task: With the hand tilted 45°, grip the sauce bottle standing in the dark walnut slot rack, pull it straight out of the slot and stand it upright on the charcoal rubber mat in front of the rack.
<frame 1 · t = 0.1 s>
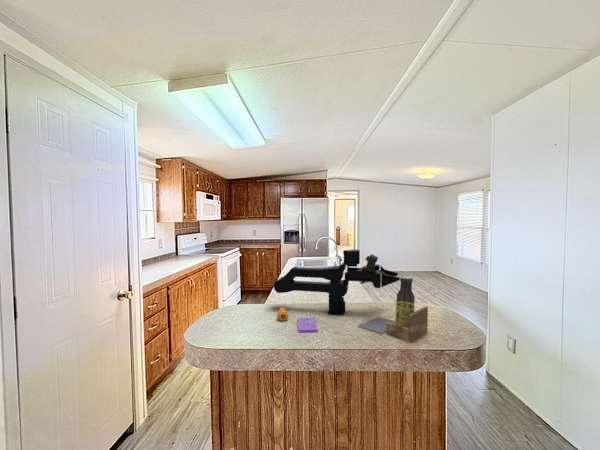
hand: (398, 276, 123), 17 cm above the counter, tool horizontal, fingers open, 9 cm apart
sauce bottle: (404, 333, 108), on the counter
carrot: (283, 314, 129), on the counter
sponges: (307, 328, 115), on the counter
bottle rack: (404, 332, 108), on the counter
charcoal mat: (379, 325, 115), on the counter
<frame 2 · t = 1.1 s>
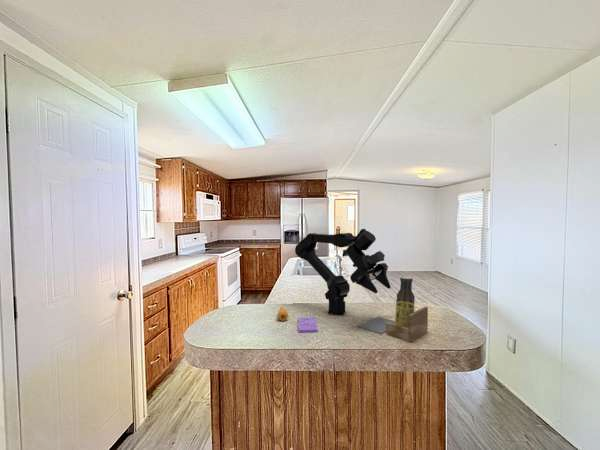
hand: (383, 290, 113), 14 cm above the counter, tool tilted 45°, fingers open, 9 cm apart
nothing on the counter moved.
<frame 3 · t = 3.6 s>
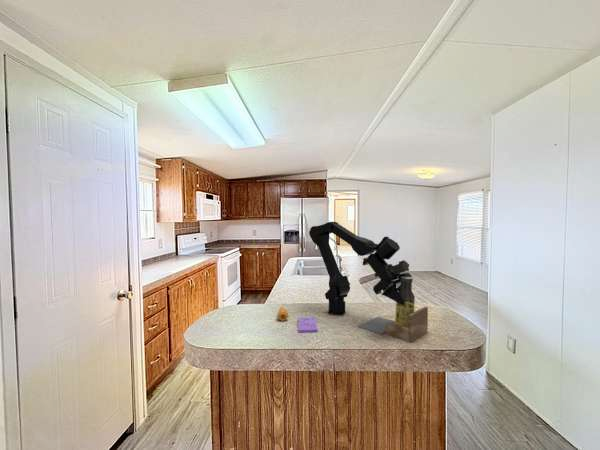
hand: (408, 302, 106), 11 cm above the counter, tool tilted 45°, fingers closed on sauce bottle, 6 cm apart
sauce bottle: (404, 333, 108), on the counter, touching gripper
everything else where it was.
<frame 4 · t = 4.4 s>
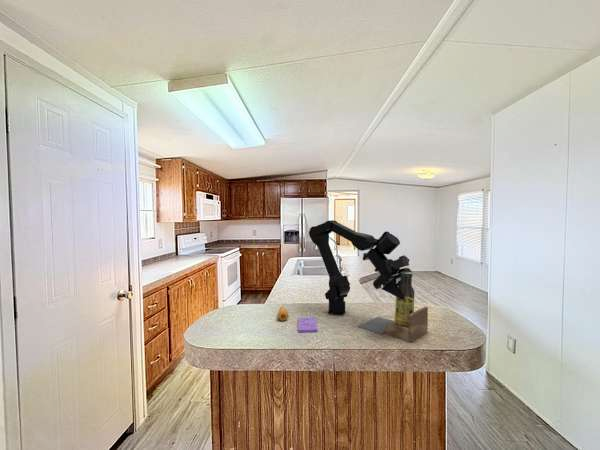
hand: (408, 297, 106), 13 cm above the counter, tool tilted 45°, fingers closed on sauce bottle, 6 cm apart
sauce bottle: (404, 328, 108), point 2 cm above the counter, touching gripper
everything else where it was.
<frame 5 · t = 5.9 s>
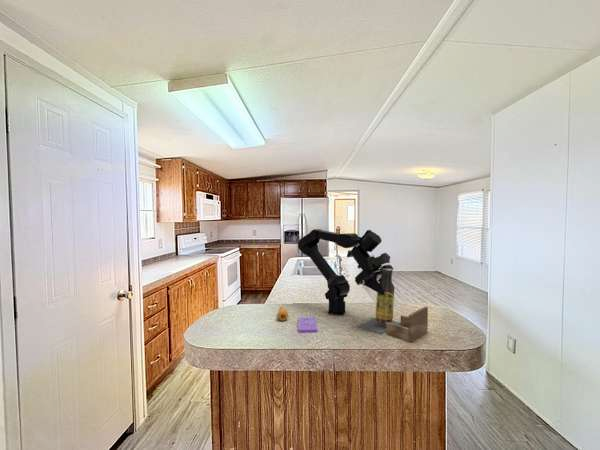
hand: (388, 292, 112), 13 cm above the counter, tool tilted 45°, fingers closed on sauce bottle, 6 cm apart
sauce bottle: (384, 322, 113), point 2 cm above the counter, touching gripper
everything else where it was.
when the fingers open (12 cm above the counter, at t = 7.3 s): sauce bottle stays where it is, resting on charcoal mat.
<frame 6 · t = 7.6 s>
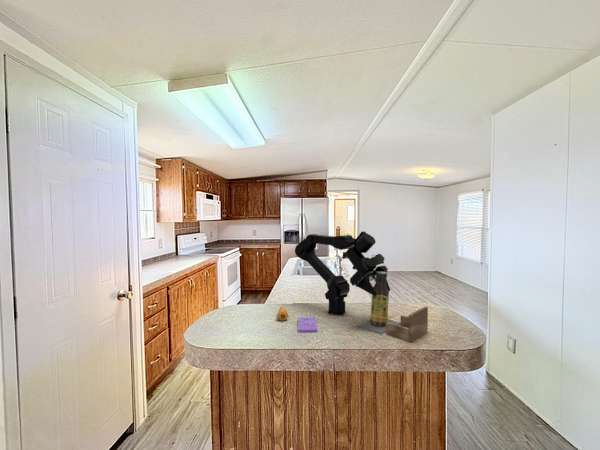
hand: (383, 293, 113), 13 cm above the counter, tool tilted 45°, fingers open, 9 cm apart
sauce bottle: (379, 324, 115), resting on charcoal mat
everything else where it was.
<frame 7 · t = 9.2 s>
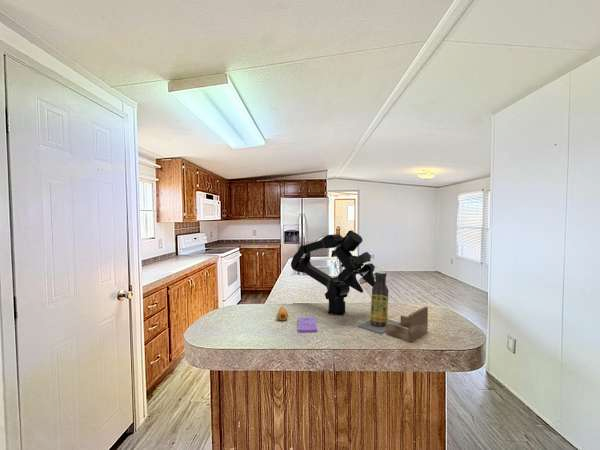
hand: (369, 289, 117), 13 cm above the counter, tool tilted 45°, fingers open, 9 cm apart
nothing on the counter moved.
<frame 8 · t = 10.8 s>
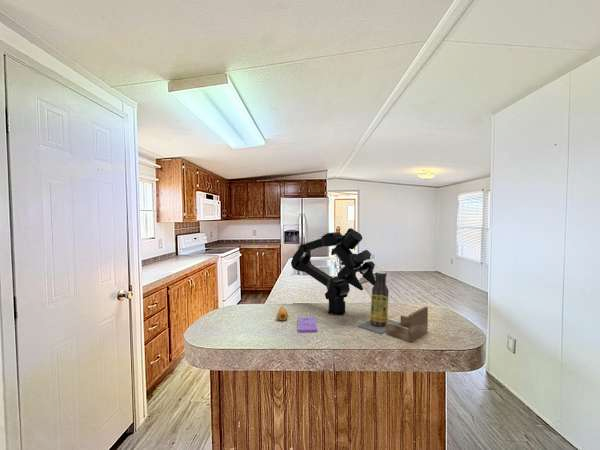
hand: (369, 287, 117), 14 cm above the counter, tool tilted 45°, fingers open, 9 cm apart
nothing on the counter moved.
at the end: sauce bottle inside the target area on the charcoal mat (0.2 cm from its centre), point 0.2 cm above the charcoal mat's base; sauce bottle tilted 0°; the gripper is holding nothing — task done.
